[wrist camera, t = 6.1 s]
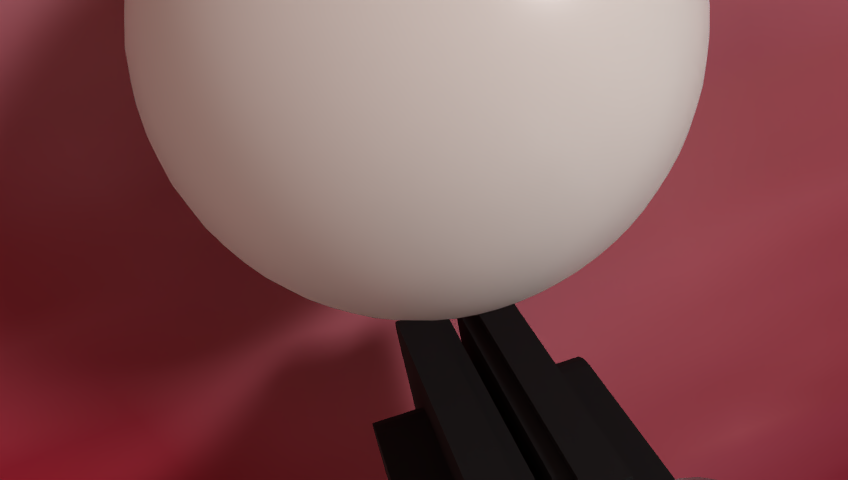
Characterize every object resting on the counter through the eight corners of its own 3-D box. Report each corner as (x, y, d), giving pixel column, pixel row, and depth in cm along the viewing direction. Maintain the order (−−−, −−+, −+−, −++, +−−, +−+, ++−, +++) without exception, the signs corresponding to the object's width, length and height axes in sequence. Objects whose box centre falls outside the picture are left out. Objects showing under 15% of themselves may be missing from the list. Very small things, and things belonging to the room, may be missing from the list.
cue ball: (981, -224, 5) (572, -394, 8) (-19, -2, 4) (19, -298, 7) (757, 335, 9) (551, 58, 12) (256, 500, 8) (193, 150, 12)
